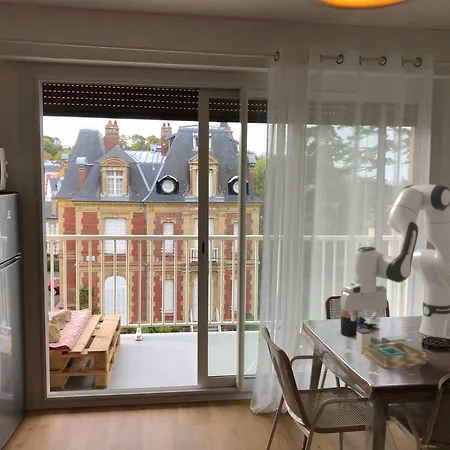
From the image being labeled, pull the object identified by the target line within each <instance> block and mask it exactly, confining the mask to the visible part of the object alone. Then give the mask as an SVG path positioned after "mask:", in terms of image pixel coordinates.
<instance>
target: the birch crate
mask: <svg viewBox="0 0 450 450" xmlns="http://www.w3.org/2000/svg"><path fill="white" fill-rule="evenodd" d="M387 347H395V348H397V349H399V350H401V351H403V352H405V353H406V355H397V356H388V357H386V356H384V355H383V354H381V353H379V352H378V348H387ZM363 357H364V358H365V359H367V360H369V361H371V362H373V363H374V364H375V365H376V364H377V365H378V366H379V367H381V368H383V369H384V370H391V369H397V368H398V369H399V368H407V367H412V366H420V365H426V362H427V361H426V360H427V353H426V352H425V351H422V350H421V349H418V348H416V347H414V346H412V345H409V344H407V343H404V342H395V343H386V344H382V343H379V344H378V343H377V344H370V345H367V346H364V353H363Z"/></svg>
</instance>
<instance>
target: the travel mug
mask: <svg viewBox="0 0 450 450" xmlns="http://www.w3.org/2000/svg"><path fill="white" fill-rule="evenodd" d="M343 292H344V290H341V295H342V293H343ZM341 295H340V296H341ZM353 314H354V316H355V317H356V321H351V316H350V314H349V311H345V310H343V309H342V308H341V307H340V334H341V335H342V336H345V337H357V329H358V328H357V323H358V317H359V310H354V313H353Z"/></svg>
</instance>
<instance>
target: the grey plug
mask: <svg viewBox="0 0 450 450" xmlns="http://www.w3.org/2000/svg"><path fill="white" fill-rule="evenodd" d="M395 342H404V343H406V342H407V340H406V337H403V336H401V335H393V336H392V335H391V336H383V337H381V344H386V343H395ZM406 344H407V343H406Z"/></svg>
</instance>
